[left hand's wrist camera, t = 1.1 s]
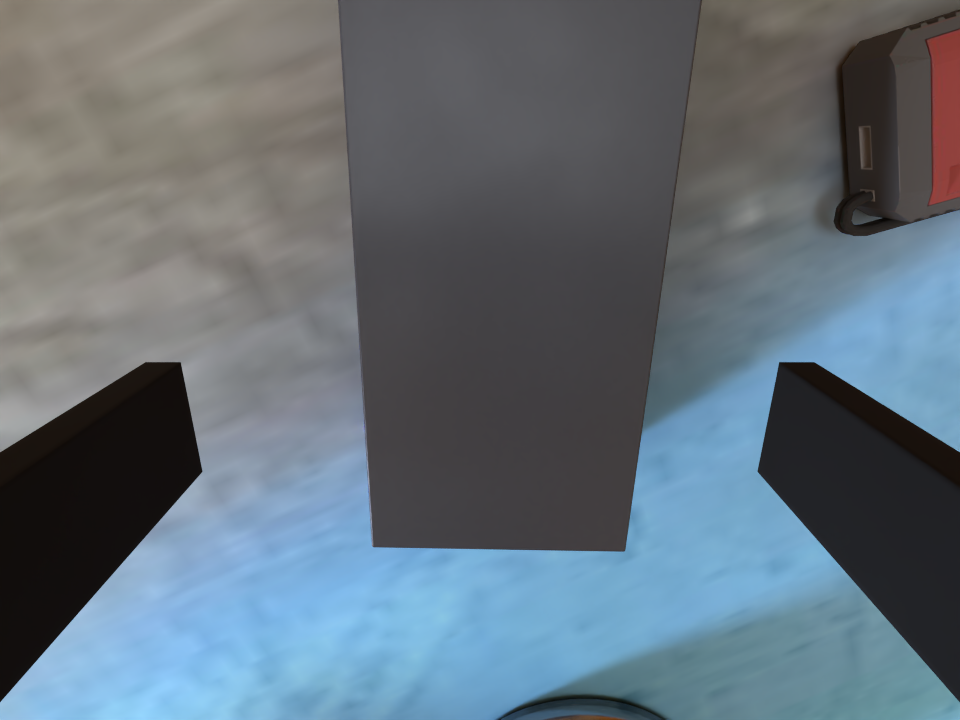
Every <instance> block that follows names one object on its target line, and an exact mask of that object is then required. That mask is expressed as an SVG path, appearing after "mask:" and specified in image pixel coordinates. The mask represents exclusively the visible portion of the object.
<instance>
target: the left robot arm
mask: <svg viewBox="0 0 960 720" xmlns="http://www.w3.org/2000/svg"><path fill="white" fill-rule="evenodd" d="M201 473H202V467H201V462H200V457H199V452H198V447H197V442H196V437H195V432H194V427H193V422H192V417H191V412H190V407H189V402H188V397H187V392H186V387H185V382H184V377H183V372H182V367H181V362H145V363H144V364H142V365H141V366H139V367H137V368H136V369H134V370H133V371H131V372H129V373H128V374H126V375H124V376H123V377H121V378H120V379H118V380H116V381H115V382H113V383H112V384H110V385H108V386H107V387H105V388H103V389H102V390H100V391H99V392H97V393H95V394H94V395H92V396H91V397H89V398H87V399H86V400H84V401H82V402H81V403H79V404H78V405H76V406H74V407H73V408H71V409H70V410H68V411H66V412H65V413H63V414H61V415H60V416H58V417H57V418H55V419H53V420H52V421H50V422H49V423H47V424H45V425H44V426H42V427H40V428H39V429H37V430H36V431H34V432H32V433H31V434H29V435H28V436H26V437H24V438H23V439H21V440H20V441H18V442H16V443H15V444H13V445H11V446H10V447H8V448H7V449H5V450H3V451H2V452H0V702H1V701H2V699H3V698H4V697H5V696H6V695H7V694H8V693H9V691H10V690H11V689H12V688H13V687H14V686H15V685H16V683H17V682H18V681H19V680H20V679H21V678H22V677H23V675H24V674H25V673H26V672H27V671H28V670H29V669H30V668H31V666H32V665H33V664H34V663H35V662H36V661H37V660H38V658H39V657H40V656H41V655H42V654H43V653H44V652H45V650H46V649H47V648H48V647H49V646H50V645H51V644H52V642H53V641H54V640H55V639H56V638H57V637H58V636H59V634H60V633H61V632H62V631H63V630H64V629H65V628H66V626H67V625H68V624H69V623H70V622H71V621H72V620H73V619H74V617H75V616H76V615H77V614H78V613H79V612H80V611H81V609H82V608H83V607H84V606H85V605H86V604H87V603H88V601H89V600H90V599H91V598H92V597H93V596H94V595H95V593H96V592H97V591H98V590H99V589H100V588H101V587H102V585H103V584H104V583H105V582H106V581H107V580H108V579H109V577H110V576H111V575H112V574H113V573H114V572H115V571H116V570H117V568H118V567H119V566H120V565H121V564H122V563H123V562H124V560H125V559H126V558H127V557H128V556H129V555H130V554H131V552H132V551H133V550H134V549H135V548H136V547H137V546H138V544H139V543H140V542H141V541H142V540H143V539H144V538H145V536H146V535H147V534H148V533H149V532H150V531H151V530H152V528H153V527H154V526H155V525H156V524H157V523H158V522H159V521H160V519H161V518H162V517H163V516H164V515H165V514H166V513H167V511H168V510H169V509H170V508H171V507H172V506H173V505H174V503H175V502H176V501H177V500H178V499H179V498H180V497H181V495H182V494H183V493H184V492H185V491H186V490H187V489H188V487H189V486H190V485H191V484H192V483H193V482H194V481H195V479H196V478H197V477H198V476H199V475H200V474H201ZM758 473H759V474H760V475H761V476H762V477H763V478H764V479H765V481H766V482H767V483H768V484H769V485H770V486H771V487H772V489H773V490H774V491H775V492H776V493H777V494H778V495H779V497H780V498H781V499H782V500H783V501H784V502H785V503H786V505H787V506H788V507H789V508H790V509H791V510H792V511H793V513H794V514H795V515H796V516H797V517H798V518H799V519H800V521H801V522H802V523H803V524H804V525H805V526H806V527H807V528H808V530H809V531H810V532H811V533H812V534H813V535H814V536H815V538H816V539H817V540H818V541H819V542H820V543H821V544H822V546H823V547H824V548H825V549H826V550H827V551H828V552H829V554H830V555H831V556H832V557H833V558H834V559H835V560H836V562H837V563H838V564H839V565H840V566H841V567H842V568H843V570H844V571H845V572H846V573H847V574H848V575H849V576H850V577H851V579H852V580H853V581H854V582H855V583H856V584H857V585H858V587H859V588H860V589H861V590H862V591H863V592H864V593H865V595H866V596H867V597H868V598H869V599H870V600H871V601H872V603H873V604H874V605H875V606H876V607H877V608H878V609H879V611H880V612H881V613H882V614H883V615H884V616H885V617H886V619H887V620H888V621H889V622H890V623H891V624H892V625H893V626H894V628H895V629H896V630H897V631H898V632H899V633H900V634H901V636H902V637H903V638H904V639H905V640H906V641H907V642H908V644H909V645H910V646H911V647H912V648H913V649H914V650H915V652H916V653H917V654H918V655H919V656H920V657H921V658H922V660H923V661H924V662H925V663H926V664H927V665H928V666H929V668H930V669H931V670H932V671H933V672H934V673H935V674H936V675H937V677H938V678H939V679H940V680H941V681H942V682H943V683H944V685H945V686H946V687H947V688H948V689H949V690H950V691H951V693H952V694H953V695H954V696H955V697H956V698H957V699H958V701H959V702H960V452H958V451H957V450H955V449H953V448H952V447H950V446H949V445H947V444H945V443H944V442H942V441H940V440H939V439H937V438H936V437H934V436H932V435H931V434H929V433H928V432H926V431H924V430H923V429H921V428H919V427H918V426H916V425H915V424H913V423H911V422H910V421H908V420H907V419H905V418H903V417H902V416H900V415H899V414H897V413H895V412H894V411H892V410H890V409H889V408H887V407H886V406H884V405H882V404H881V403H879V402H878V401H876V400H874V399H873V398H871V397H869V396H868V395H866V394H865V393H863V392H861V391H860V390H858V389H857V388H855V387H853V386H852V385H850V384H848V383H847V382H845V381H844V380H842V379H840V378H839V377H837V376H836V375H834V374H832V373H831V372H829V371H827V370H826V369H824V368H823V367H821V366H819V365H818V364H816V363H815V362H779V367H778V372H777V377H776V382H775V387H774V392H773V397H772V402H771V407H770V412H769V417H768V422H767V427H766V432H765V437H764V442H763V447H762V452H761V457H760V462H759V467H758ZM501 720H663V719H661V718H659V717H658V716H656V715H654V714H652V713H650V712H648V711H645V710H643V709H640V708H637V707H635V706H631V705H628V704H624V703H619V702H614V701H608V700H600V699H567V700H558V701H552V702H547V703H542V704H538V705H534V706H531V707H528V708H525V709H522V710H520V711H517V712H515V713H512V714H510V715H508V716H506V717H504V718H502V719H501Z"/></svg>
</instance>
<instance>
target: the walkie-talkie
mask: <svg viewBox="0 0 960 720" xmlns="http://www.w3.org/2000/svg"><path fill="white" fill-rule="evenodd" d="M842 71H843V87H844V104H845V120H846V137H847V153H848V170H849V186H850V195H849V196H848V197H846V198H845V199H843V200H842V201H841V202H840V204H839V205H838V206H837V208H836V212H835V217H834V223H835V226H836V228H837V229H838V230H839V231H841V232H842V233H845V234H850V235H853V236H868V235H871V234H875V233H878V232H882V231H885V230H889V229H893V228H896V227H900V226H903V225H907V224H910V223H914V222H917V221H921V220H924V219H928V218H932V217H935V216H939V215H942V214H946V213H949V212H953V211H956V210H960V10H957V11H954V12H951V13H949V14H945V15H941V16H938V17H935V18H933V19H929V20H926V21H923V22H919V23H917V24H914V25H910V26H907V27H904V28H902V29H898V30H895V31H891V32H888V33H886V34H883V35H879V36H876V37H873V38H870V39H867V40H863V41H860V42H859V43H858V45H857V46H856V47H855V49H854V50H853V52H852V53H851V54H850V56H849V57H848V59H847V60H846V61H845V63H844V64H843V65H842ZM855 208H857V209H859V210H860V211H862V212H864V213H866V214H867V215H871V216H876V217H882V219H878V220H875V221H871V222H868V223H864V224H860V225H854V224H853V223H852V221H851V220H852V215H853V212H854V210H855Z"/></svg>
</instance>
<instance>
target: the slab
mask: <svg viewBox="0 0 960 720" xmlns="http://www.w3.org/2000/svg"><path fill="white" fill-rule="evenodd" d="M701 2H702V0H338V6H339V22H340V38H341V54H342V70H343V86H344V102H345V118H346V134H347V151H348V167H349V183H350V199H351V215H352V231H353V247H354V263H355V279H356V295H357V312H358V328H359V344H360V360H361V376H362V392H363V408H364V424H365V440H366V456H367V473H368V489H369V505H370V521H371V537H372V546H373V547H394V548H451V549H508V550H565V551H622V552H624V551H625V548H626V541H627V534H628V526H629V519H630V512H631V505H632V498H633V491H634V483H635V476H636V469H637V462H638V455H639V447H640V440H641V433H642V426H643V419H644V412H645V404H646V397H647V390H648V383H649V376H650V368H651V361H652V354H653V347H654V340H655V333H656V325H657V318H658V311H659V304H660V297H661V290H662V282H663V275H664V268H665V261H666V254H667V246H668V239H669V232H670V225H671V218H672V211H673V203H674V196H675V189H676V182H677V175H678V167H679V160H680V153H681V146H682V139H683V132H684V124H685V117H686V110H687V103H688V96H689V88H690V81H691V74H692V67H693V60H694V53H695V45H696V38H697V31H698V24H699V17H700V10H701Z"/></svg>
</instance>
